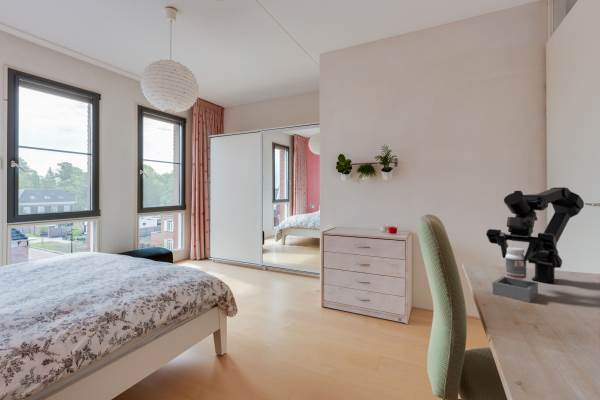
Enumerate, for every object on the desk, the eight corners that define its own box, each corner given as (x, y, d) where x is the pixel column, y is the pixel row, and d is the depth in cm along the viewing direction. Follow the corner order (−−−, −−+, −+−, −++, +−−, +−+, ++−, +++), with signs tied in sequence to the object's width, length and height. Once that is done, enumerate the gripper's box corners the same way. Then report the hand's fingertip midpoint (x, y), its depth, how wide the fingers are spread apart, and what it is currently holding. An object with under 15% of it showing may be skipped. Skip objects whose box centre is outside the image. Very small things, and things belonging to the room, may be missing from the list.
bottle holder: (502, 286, 102) (502, 276, 102) (537, 294, 94) (537, 282, 94) (492, 293, 96) (492, 282, 96) (529, 302, 88) (529, 289, 88)
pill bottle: (530, 280, 92) (530, 250, 91) (510, 280, 93) (510, 250, 92) (520, 275, 97) (520, 246, 97) (502, 274, 98) (501, 246, 98)
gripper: (487, 207, 104) (476, 241, 98) (554, 209, 89) (545, 249, 83) (495, 225, 109) (485, 259, 103) (560, 230, 94) (552, 269, 88)
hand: (514, 258), depth 94 cm, fingers closed on pill bottle, 6 cm apart
